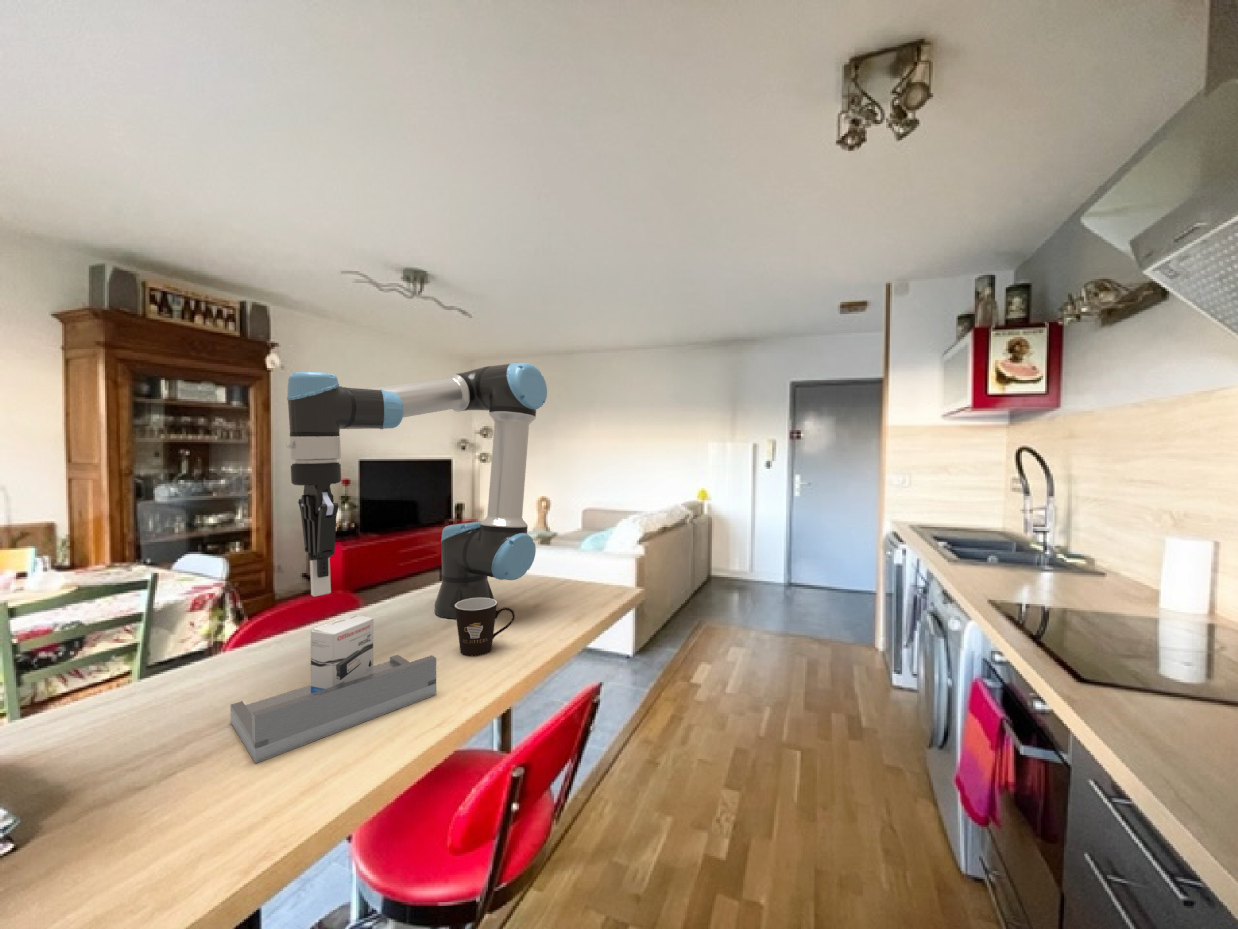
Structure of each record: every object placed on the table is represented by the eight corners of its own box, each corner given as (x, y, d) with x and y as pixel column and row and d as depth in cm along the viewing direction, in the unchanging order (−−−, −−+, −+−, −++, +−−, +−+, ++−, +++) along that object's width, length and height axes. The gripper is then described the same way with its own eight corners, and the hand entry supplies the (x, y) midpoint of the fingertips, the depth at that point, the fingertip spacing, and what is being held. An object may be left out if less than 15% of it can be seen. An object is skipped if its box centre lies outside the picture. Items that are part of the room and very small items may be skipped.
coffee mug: (446, 656, 103) (446, 608, 103) (468, 640, 111) (468, 596, 111) (498, 662, 100) (498, 613, 100) (516, 646, 109) (516, 600, 108)
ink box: (333, 708, 78) (332, 633, 78) (309, 703, 80) (308, 629, 79) (375, 684, 86) (374, 616, 86) (352, 679, 88) (352, 613, 87)
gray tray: (397, 668, 97) (397, 635, 97) (436, 694, 87) (436, 657, 87) (230, 722, 78) (230, 681, 77) (255, 763, 67) (254, 716, 67)
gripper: (280, 461, 89) (285, 591, 90) (303, 463, 80) (309, 607, 82) (326, 459, 95) (331, 582, 96) (353, 461, 86) (357, 596, 87)
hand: (321, 593), depth 89 cm, fingers closed
